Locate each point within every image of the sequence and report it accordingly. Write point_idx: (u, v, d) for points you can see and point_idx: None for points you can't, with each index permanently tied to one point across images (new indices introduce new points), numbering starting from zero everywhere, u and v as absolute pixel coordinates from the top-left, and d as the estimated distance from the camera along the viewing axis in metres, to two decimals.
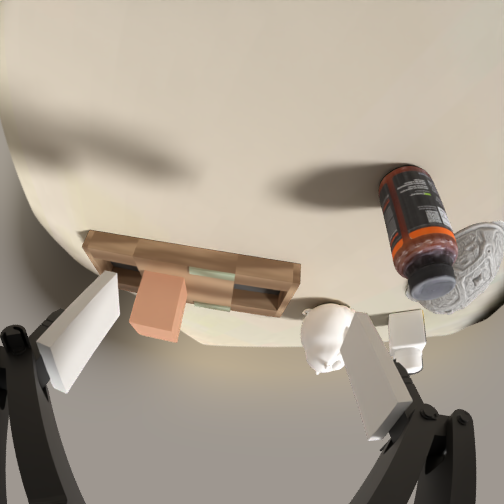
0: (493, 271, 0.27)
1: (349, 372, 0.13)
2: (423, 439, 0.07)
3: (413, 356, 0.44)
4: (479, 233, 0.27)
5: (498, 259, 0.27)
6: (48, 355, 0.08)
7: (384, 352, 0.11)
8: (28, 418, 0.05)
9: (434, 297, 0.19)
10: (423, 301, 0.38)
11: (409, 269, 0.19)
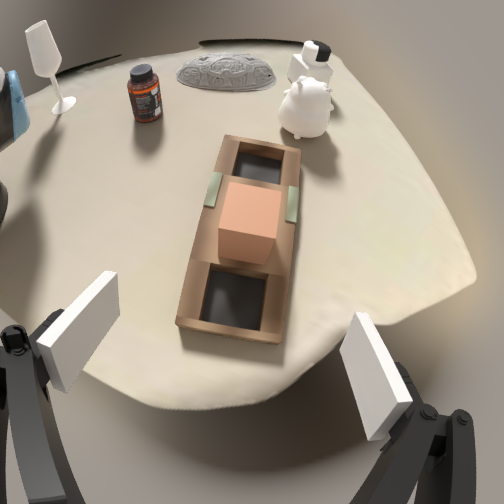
0: (198, 56, 0.53)
1: (349, 372, 0.13)
2: (423, 439, 0.07)
3: (302, 52, 0.50)
4: (180, 75, 0.54)
5: None
6: (48, 355, 0.08)
7: (384, 352, 0.11)
8: (28, 418, 0.05)
9: (148, 66, 0.40)
10: (248, 74, 0.53)
11: (138, 82, 0.40)
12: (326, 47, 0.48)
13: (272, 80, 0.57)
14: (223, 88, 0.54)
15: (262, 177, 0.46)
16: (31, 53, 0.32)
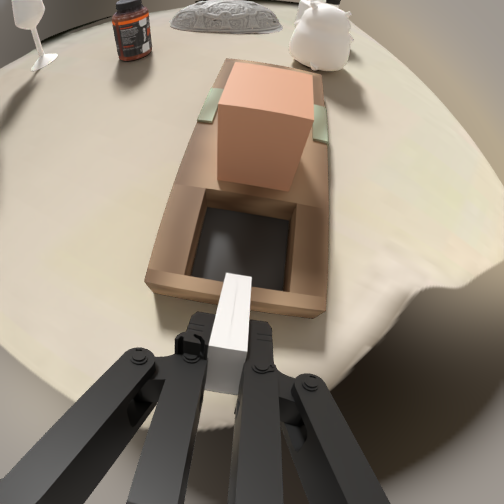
0: (195, 3, 0.41)
1: None
2: (266, 396, 0.09)
3: None
4: (173, 21, 0.41)
5: None
6: (220, 357, 0.11)
7: (245, 308, 0.13)
8: (174, 429, 0.07)
9: None
10: (250, 17, 0.40)
11: (124, 11, 0.27)
12: None
13: (277, 27, 0.44)
14: (222, 30, 0.41)
15: None
16: (13, 3, 0.19)
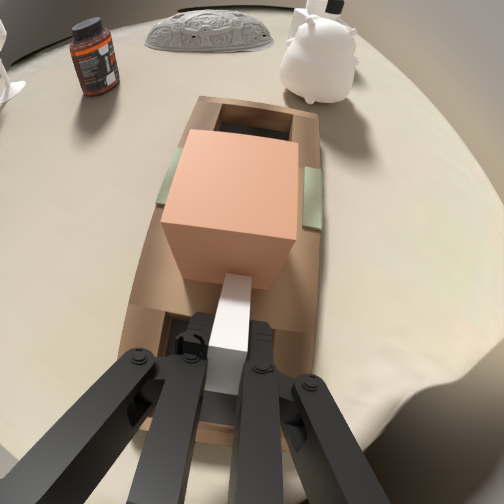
0: None
1: None
2: (266, 396, 0.09)
3: (307, 3, 0.32)
4: (148, 38, 0.37)
5: None
6: (220, 357, 0.11)
7: (245, 308, 0.13)
8: (174, 429, 0.07)
9: (96, 18, 0.22)
10: (234, 32, 0.36)
11: (81, 39, 0.22)
12: None
13: (268, 41, 0.39)
14: (201, 49, 0.37)
15: None
16: None
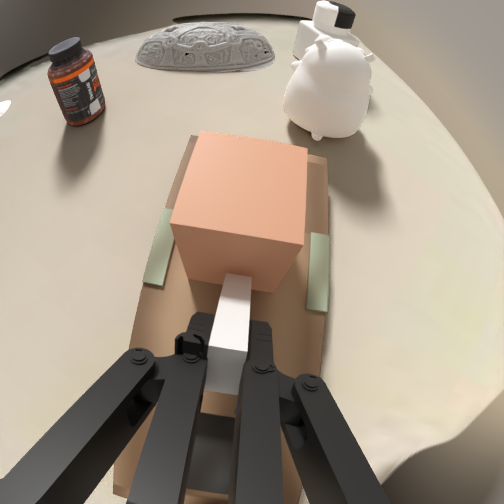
0: (167, 28, 0.34)
1: None
2: (266, 396, 0.09)
3: (314, 15, 0.30)
4: (139, 54, 0.35)
5: None
6: (219, 357, 0.11)
7: (245, 307, 0.13)
8: (174, 429, 0.07)
9: (75, 39, 0.20)
10: (232, 48, 0.33)
11: (58, 64, 0.20)
12: (348, 9, 0.28)
13: (270, 59, 0.37)
14: (195, 68, 0.34)
15: None
16: None
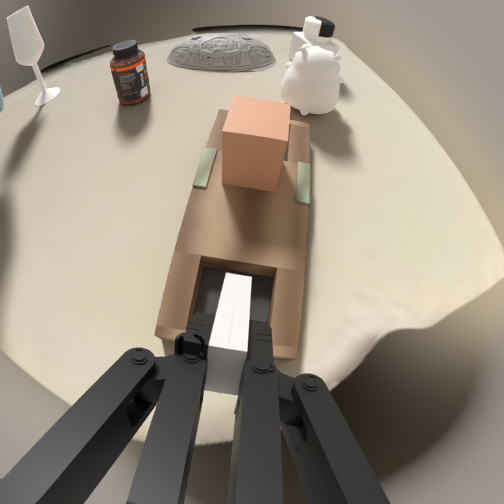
0: None
1: None
2: (266, 396, 0.09)
3: (304, 28, 0.43)
4: (170, 56, 0.48)
5: None
6: (220, 357, 0.11)
7: (245, 307, 0.13)
8: (174, 429, 0.07)
9: (133, 41, 0.33)
10: (242, 54, 0.46)
11: (121, 58, 0.33)
12: (329, 22, 0.40)
13: (271, 62, 0.49)
14: (215, 68, 0.47)
15: None
16: (12, 40, 0.25)
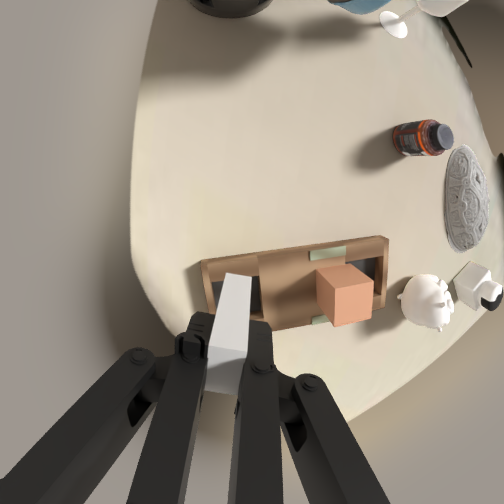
0: (482, 171, 0.42)
1: None
2: (266, 396, 0.09)
3: (490, 282, 0.44)
4: (459, 152, 0.44)
5: None
6: (220, 357, 0.11)
7: (245, 308, 0.13)
8: (174, 429, 0.07)
9: (450, 144, 0.33)
10: (462, 228, 0.46)
11: (430, 137, 0.34)
12: (494, 307, 0.43)
13: (460, 249, 0.51)
14: (447, 203, 0.47)
15: None
16: None
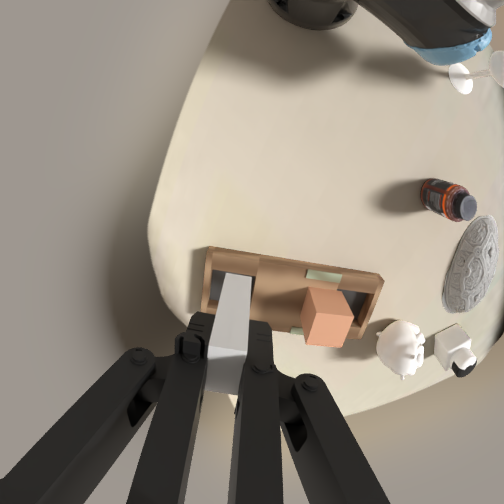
0: (497, 246, 0.42)
1: None
2: (266, 396, 0.09)
3: (466, 351, 0.46)
4: (482, 221, 0.44)
5: (497, 239, 0.43)
6: (220, 357, 0.11)
7: (245, 308, 0.13)
8: (174, 429, 0.07)
9: (471, 216, 0.34)
10: (458, 291, 0.47)
11: (454, 203, 0.35)
12: (462, 375, 0.45)
13: (450, 309, 0.52)
14: (453, 263, 0.48)
15: None
16: None
